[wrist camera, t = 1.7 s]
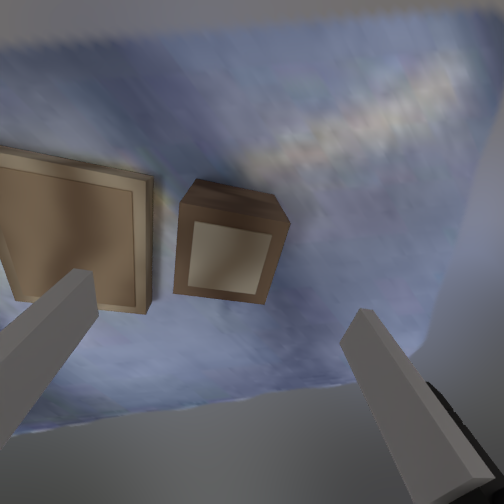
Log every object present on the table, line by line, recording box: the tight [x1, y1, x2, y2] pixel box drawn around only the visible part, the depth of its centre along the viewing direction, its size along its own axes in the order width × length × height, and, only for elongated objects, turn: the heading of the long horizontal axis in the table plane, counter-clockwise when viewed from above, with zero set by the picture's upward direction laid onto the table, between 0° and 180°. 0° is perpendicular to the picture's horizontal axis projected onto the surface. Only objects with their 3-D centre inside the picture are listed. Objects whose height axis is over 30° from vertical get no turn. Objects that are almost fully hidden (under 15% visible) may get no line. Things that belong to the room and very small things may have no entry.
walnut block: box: [173, 179, 291, 305], centre depth 19 cm, size 7×7×7 cm
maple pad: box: [0, 145, 154, 315], centre depth 20 cm, size 12×14×2 cm
